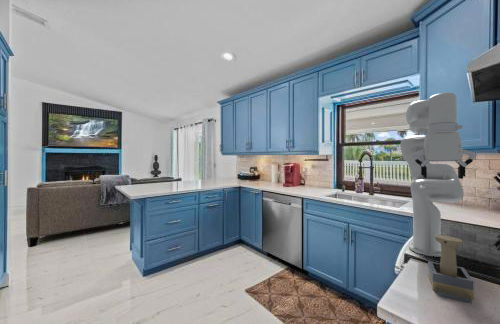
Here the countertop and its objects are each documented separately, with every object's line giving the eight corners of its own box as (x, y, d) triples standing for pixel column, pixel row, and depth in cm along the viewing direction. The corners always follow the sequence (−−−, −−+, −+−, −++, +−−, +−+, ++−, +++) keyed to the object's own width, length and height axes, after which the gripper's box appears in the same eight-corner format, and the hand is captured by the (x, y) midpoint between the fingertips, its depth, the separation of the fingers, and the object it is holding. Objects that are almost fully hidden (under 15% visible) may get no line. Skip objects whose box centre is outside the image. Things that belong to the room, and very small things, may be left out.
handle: (459, 293, 66) (459, 242, 66) (432, 283, 72) (432, 236, 72) (464, 288, 69) (464, 239, 69) (438, 279, 74) (438, 234, 74)
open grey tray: (426, 272, 79) (426, 258, 79) (461, 279, 75) (461, 264, 75) (434, 294, 66) (434, 277, 66) (477, 304, 61) (477, 286, 61)
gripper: (472, 128, 78) (472, 178, 78) (411, 132, 87) (411, 176, 87) (479, 125, 71) (480, 179, 71) (412, 129, 80) (412, 177, 80)
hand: (442, 178), depth 79 cm, fingers open, 9 cm apart
